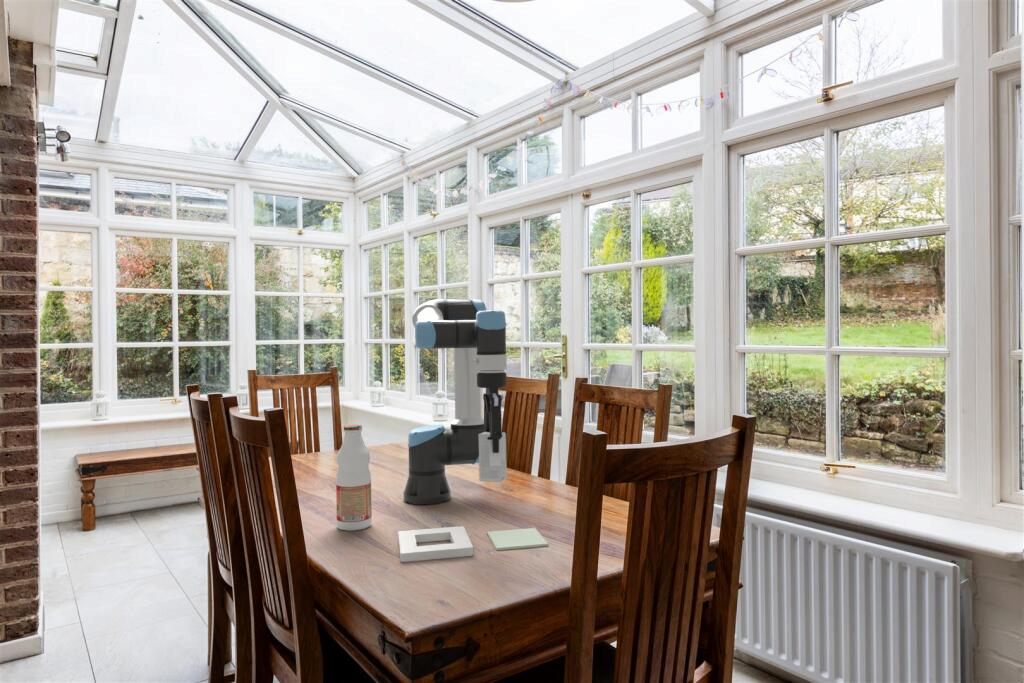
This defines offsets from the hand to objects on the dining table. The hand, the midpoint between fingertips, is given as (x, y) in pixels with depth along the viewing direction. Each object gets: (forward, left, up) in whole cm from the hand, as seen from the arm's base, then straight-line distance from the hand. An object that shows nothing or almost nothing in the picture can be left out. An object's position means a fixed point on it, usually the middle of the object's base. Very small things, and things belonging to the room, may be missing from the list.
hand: (493, 462), depth 155 cm
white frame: (0, -15, -20) cm, 25 cm away
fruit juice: (-23, -35, -20) cm, 47 cm away
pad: (0, +6, -20) cm, 21 cm away
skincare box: (0, 0, -5) cm, 5 cm away
